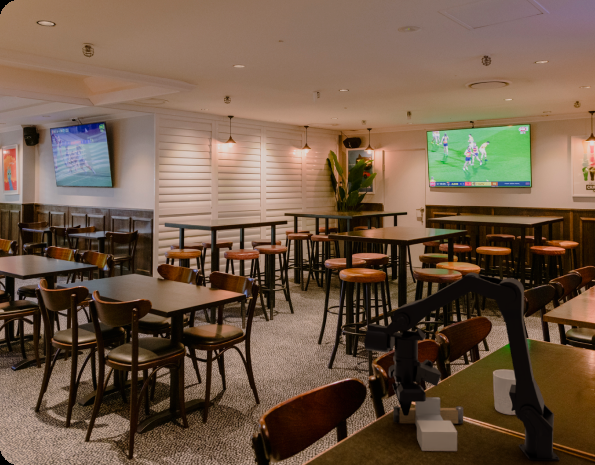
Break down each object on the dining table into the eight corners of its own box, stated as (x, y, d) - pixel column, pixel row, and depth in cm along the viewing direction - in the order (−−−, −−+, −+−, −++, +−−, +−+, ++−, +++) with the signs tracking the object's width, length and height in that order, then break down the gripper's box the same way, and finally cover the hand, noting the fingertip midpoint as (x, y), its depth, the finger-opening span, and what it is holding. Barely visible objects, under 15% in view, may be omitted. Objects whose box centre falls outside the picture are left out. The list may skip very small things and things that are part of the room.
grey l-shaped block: (445, 436, 124) (445, 408, 123) (420, 436, 124) (420, 408, 123) (438, 424, 131) (439, 397, 130) (415, 423, 131) (415, 397, 130)
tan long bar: (461, 420, 132) (462, 406, 132) (463, 423, 130) (464, 409, 130) (393, 420, 133) (393, 405, 133) (394, 423, 131) (394, 408, 131)
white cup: (498, 401, 145) (498, 367, 144) (527, 408, 140) (528, 373, 139) (488, 411, 139) (489, 375, 138) (518, 418, 134) (519, 381, 133)
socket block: (457, 451, 117) (457, 432, 117) (421, 450, 118) (422, 431, 117) (450, 438, 123) (450, 420, 123) (416, 438, 124) (416, 420, 123)
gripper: (447, 367, 119) (447, 432, 120) (429, 344, 138) (429, 400, 139) (399, 367, 119) (399, 431, 120) (388, 344, 138) (388, 400, 139)
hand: (405, 415), depth 130 cm, fingers closed
